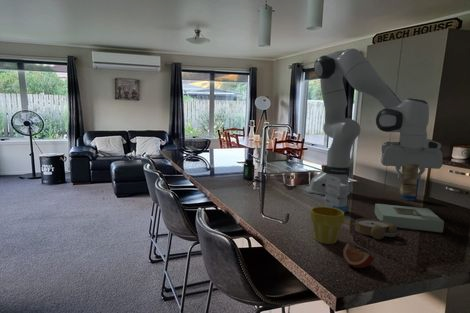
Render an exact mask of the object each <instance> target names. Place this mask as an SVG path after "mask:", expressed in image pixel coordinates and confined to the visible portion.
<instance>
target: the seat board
mask: <svg viewBox="0 0 470 313" xmlns="http://www.w3.org/2000/svg"><path fill="white" fill-rule="evenodd" d="M374 214H375V216H376V218H377V220H378V219H379V220H382V221H385V222H388V223H389V224H394V225H395V226H396V228H398V227H399V228H401V229H406V230H407V229H410V230H419V231H428V232H436V233H443V232H444V225H445V221H444V220H443V219H441V217H439V215H437V214H435V212H434V211H432V210H431V209H430V208H425V207H415V206H414V207H413V206H405V205H403V206H402V205H393V204H392V205H391V204H384V203H375V205H374Z"/></svg>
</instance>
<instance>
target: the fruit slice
mask: <svg viewBox="0 0 470 313" xmlns="http://www.w3.org/2000/svg"><path fill="white" fill-rule="evenodd" d="M342 256H343V258H344V260H345V261H346V262H347V263H348V265H349V266H352V267H353V268H355V269H363V268H367V267H369V266H370V265H371V264H372V263H373V262H374V260H375V258H374V257H373V256H372V255H371V254H369V253H367V252H366V251H364V250H361V248H359V249H358V248H356V247H355V246H354V245H352V244H351V243H349V242H347V243H345V245H344V246H343V249H342Z"/></svg>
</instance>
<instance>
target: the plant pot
mask: <svg viewBox="0 0 470 313" xmlns="http://www.w3.org/2000/svg"><path fill="white" fill-rule="evenodd" d="M310 220H311V222H312V227H313V232H314V234H313V235H314V239H315V240H316V241H317V242H318V243H321V244H326V245H333V244H335V243H337V240H338V237H339V234H340V230H341V227H342V225H344V221H345V212H343V211H341V210H339V209H336V208H331V207H325V206H316V207H312V208H311V209H310Z"/></svg>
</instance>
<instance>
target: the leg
mask: <svg viewBox="0 0 470 313" xmlns="http://www.w3.org/2000/svg"><path fill="white" fill-rule="evenodd" d="M418 167H419V165H417V164H405V167H401V171H400V173H403V178H400V181H399V193H400V195H401V196H402V195H406V196H416V187H417V177H418V173H419V168H418Z"/></svg>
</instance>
